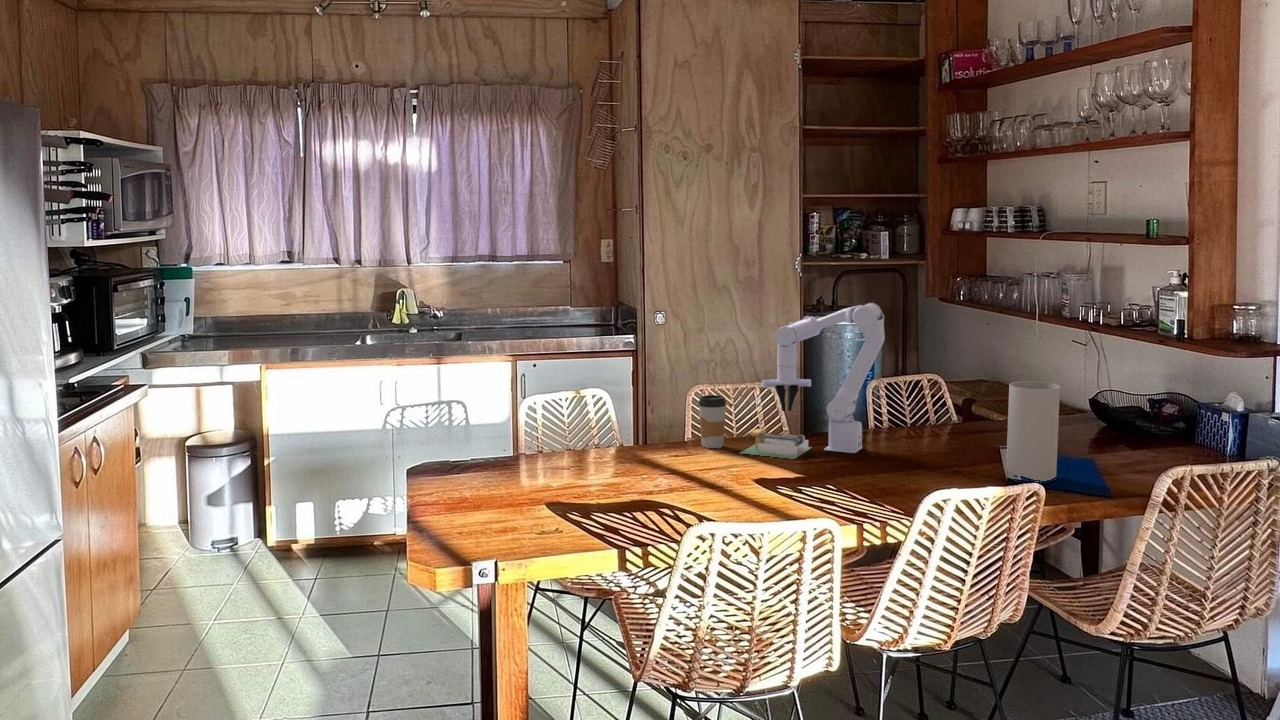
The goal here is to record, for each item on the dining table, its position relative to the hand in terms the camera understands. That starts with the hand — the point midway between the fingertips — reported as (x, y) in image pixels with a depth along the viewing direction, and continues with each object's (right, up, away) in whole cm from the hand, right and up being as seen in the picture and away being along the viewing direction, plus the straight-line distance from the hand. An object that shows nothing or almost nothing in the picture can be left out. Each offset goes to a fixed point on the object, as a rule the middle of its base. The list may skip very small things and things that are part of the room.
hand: (786, 410), depth 349 cm
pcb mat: (-4, -12, -8) cm, 14 cm away
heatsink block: (-2, -12, -10) cm, 15 cm away
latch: (-9, -11, -6) cm, 15 cm away
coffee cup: (-22, -11, -1) cm, 25 cm away
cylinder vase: (+59, -16, -43) cm, 75 cm away
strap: (-4, -8, -9) cm, 13 cm away
